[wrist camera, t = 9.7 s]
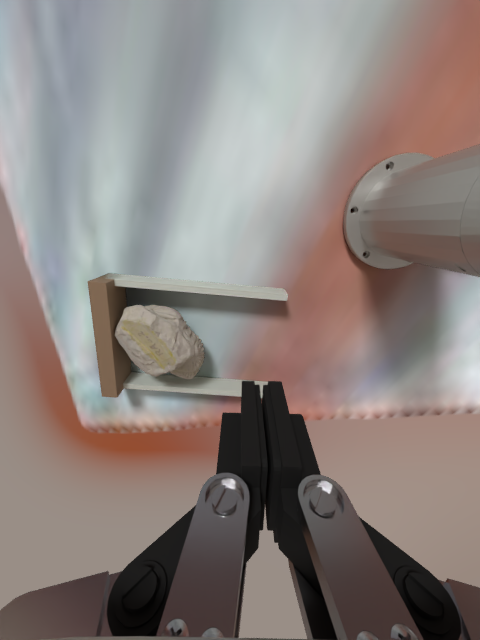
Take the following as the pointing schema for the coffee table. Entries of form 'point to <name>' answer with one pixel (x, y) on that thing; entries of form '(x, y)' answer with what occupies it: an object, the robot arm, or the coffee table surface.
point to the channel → (116, 362)
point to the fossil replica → (160, 341)
